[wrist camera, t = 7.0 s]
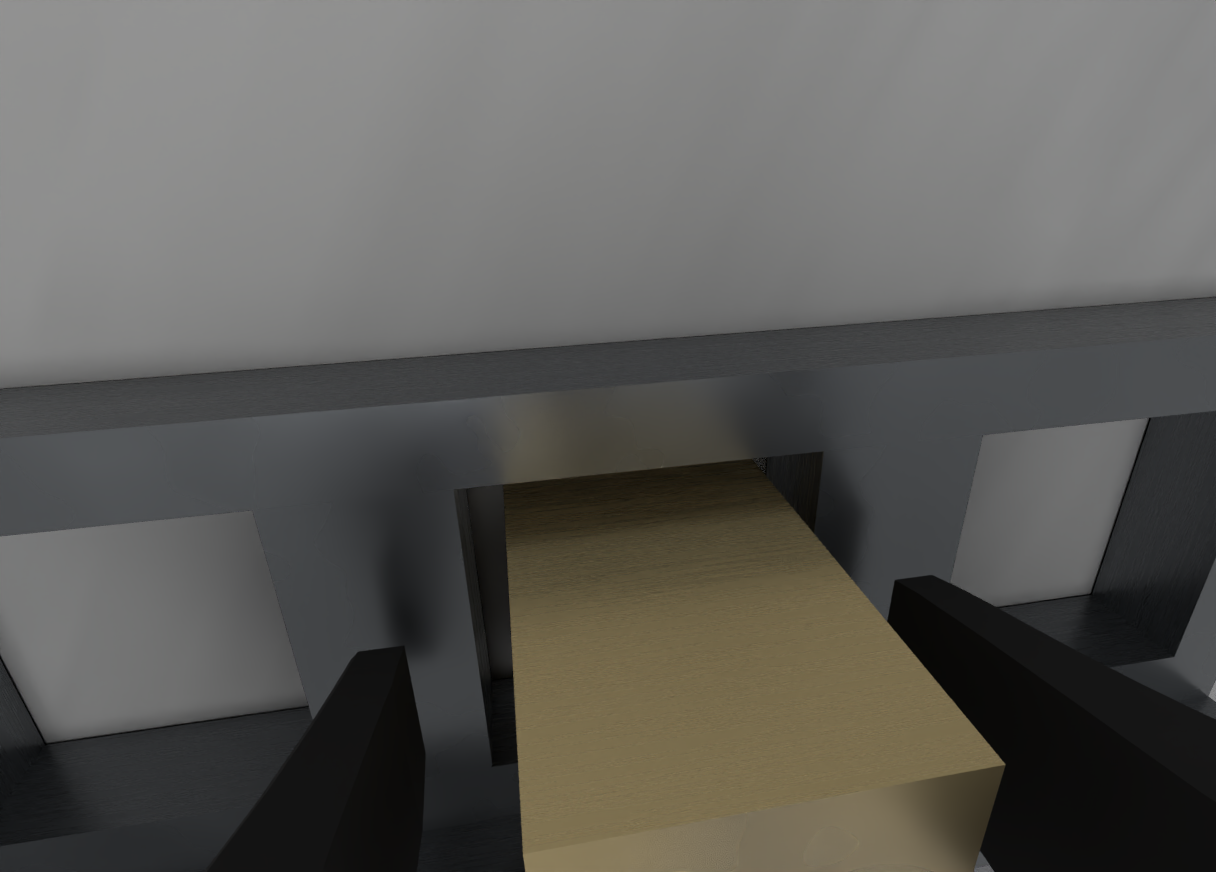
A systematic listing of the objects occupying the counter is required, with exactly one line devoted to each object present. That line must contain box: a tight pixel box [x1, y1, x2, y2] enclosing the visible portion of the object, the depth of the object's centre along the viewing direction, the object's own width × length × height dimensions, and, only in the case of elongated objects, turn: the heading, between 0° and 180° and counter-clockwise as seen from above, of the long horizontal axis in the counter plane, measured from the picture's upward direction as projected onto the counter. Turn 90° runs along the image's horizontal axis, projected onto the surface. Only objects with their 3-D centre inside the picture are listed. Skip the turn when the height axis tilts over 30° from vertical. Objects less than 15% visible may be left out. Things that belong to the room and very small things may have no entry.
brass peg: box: [503, 459, 1006, 872], centre depth 9 cm, size 4×4×7 cm
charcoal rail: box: [0, 297, 1216, 872], centre depth 11 cm, size 9×24×4 cm, turn 91°
